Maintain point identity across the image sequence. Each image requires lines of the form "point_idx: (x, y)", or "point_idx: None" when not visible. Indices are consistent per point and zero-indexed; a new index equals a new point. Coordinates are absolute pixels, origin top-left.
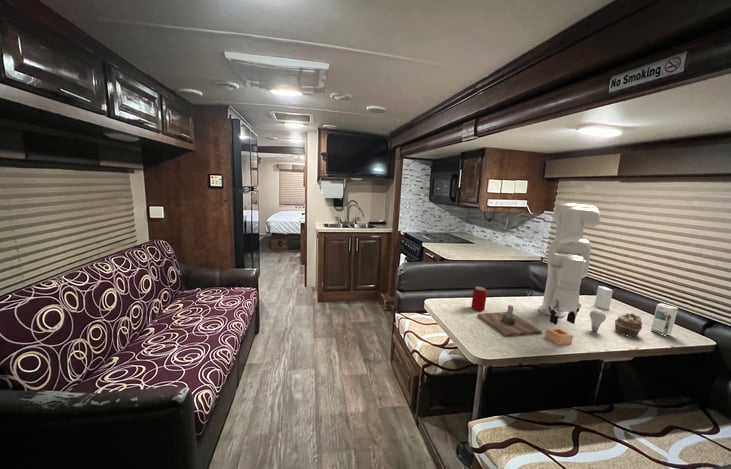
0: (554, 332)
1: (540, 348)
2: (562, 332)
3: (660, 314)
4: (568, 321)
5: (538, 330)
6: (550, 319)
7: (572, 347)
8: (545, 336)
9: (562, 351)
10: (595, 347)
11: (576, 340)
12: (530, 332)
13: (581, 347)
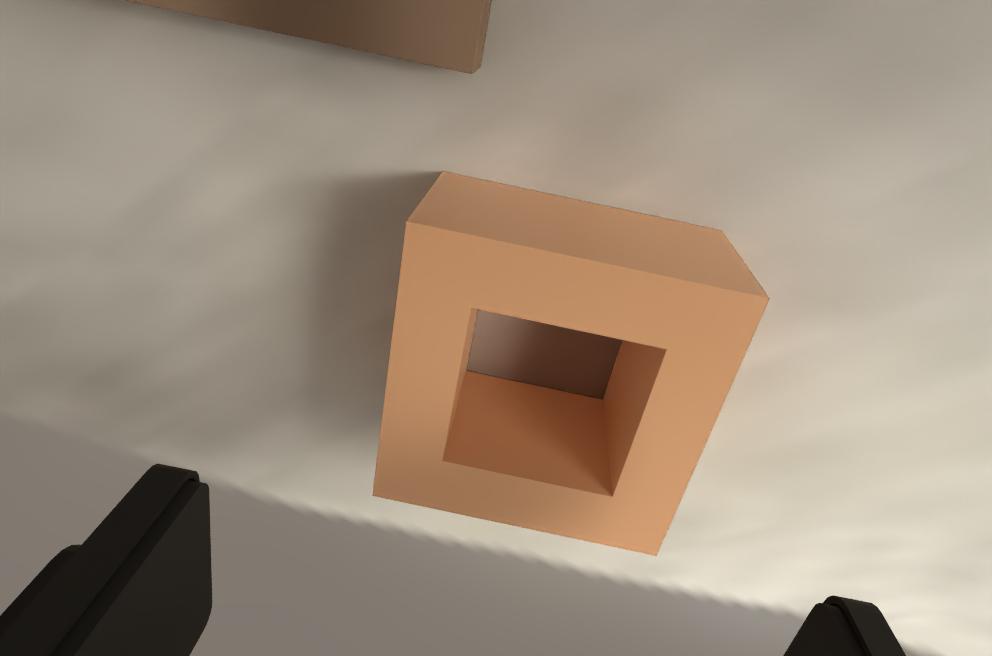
0: (399, 385)
1: (52, 351)
2: (637, 401)
3: None
4: (798, 640)
5: (390, 39)
6: (41, 572)
7: None
8: (442, 176)
9: (298, 487)
10: None
11: (833, 437)
12: (170, 8)
13: None
